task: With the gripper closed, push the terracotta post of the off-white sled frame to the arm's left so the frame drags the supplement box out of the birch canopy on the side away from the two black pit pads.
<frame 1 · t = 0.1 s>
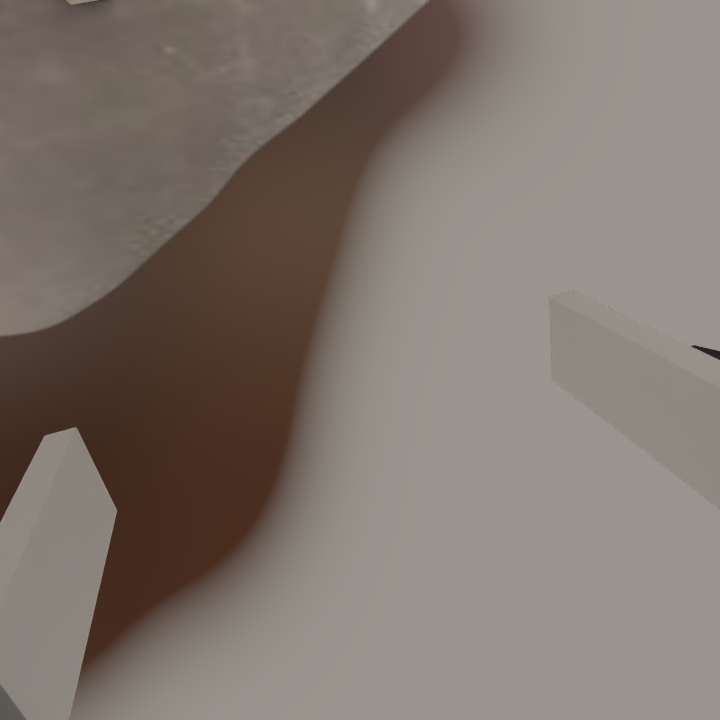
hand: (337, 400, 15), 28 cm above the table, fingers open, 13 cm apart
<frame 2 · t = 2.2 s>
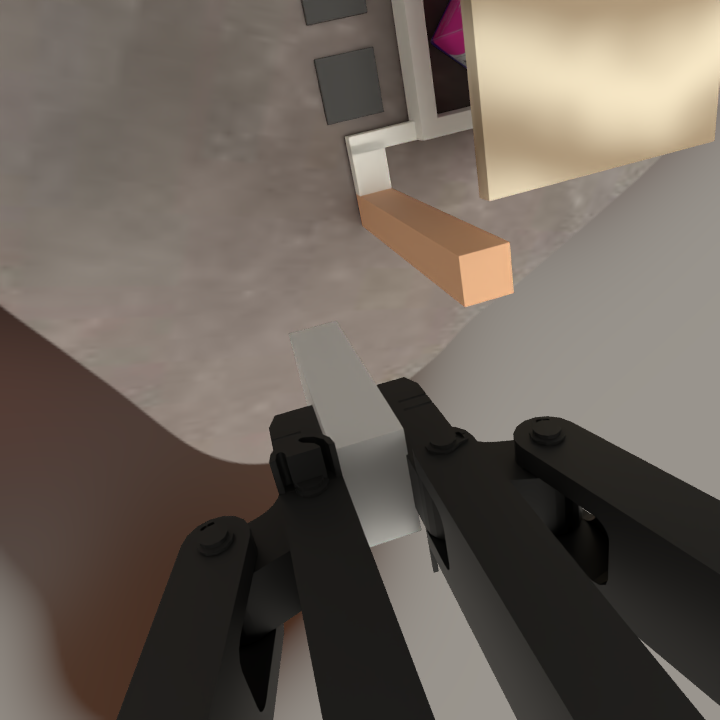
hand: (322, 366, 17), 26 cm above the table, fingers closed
sled: (521, 63, 31), point 10 cm above the table, slide at 0.0 cm
canopy: (481, 22, 38), on the table
supplement box: (480, 23, 38), resting in sled
pit b: (349, 86, 38), on the table
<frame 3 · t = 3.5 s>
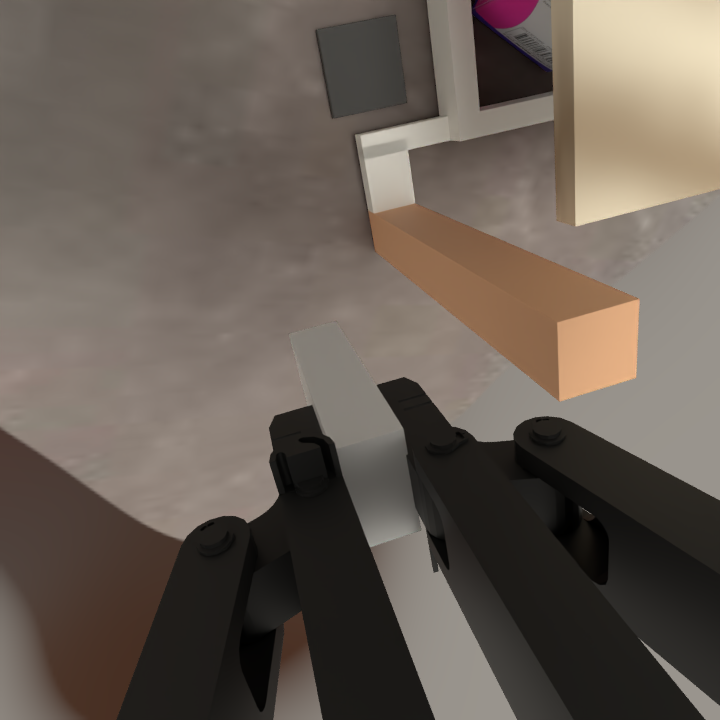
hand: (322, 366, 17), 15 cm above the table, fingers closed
sled: (617, 28, 21), point 10 cm above the table, slide at 0.0 cm
pit b: (362, 68, 28), on the table
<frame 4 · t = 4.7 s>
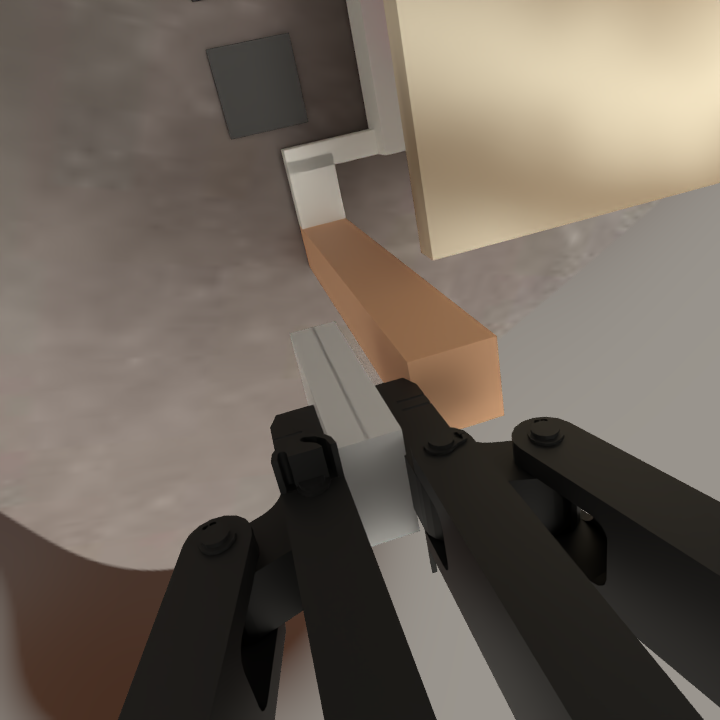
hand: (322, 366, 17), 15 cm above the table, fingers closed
sled: (519, 43, 20), point 10 cm above the table, slide at 1.3 cm, touching gripper, supplement box
canopy: (441, 2, 28), on the table
pit b: (258, 87, 28), on the table
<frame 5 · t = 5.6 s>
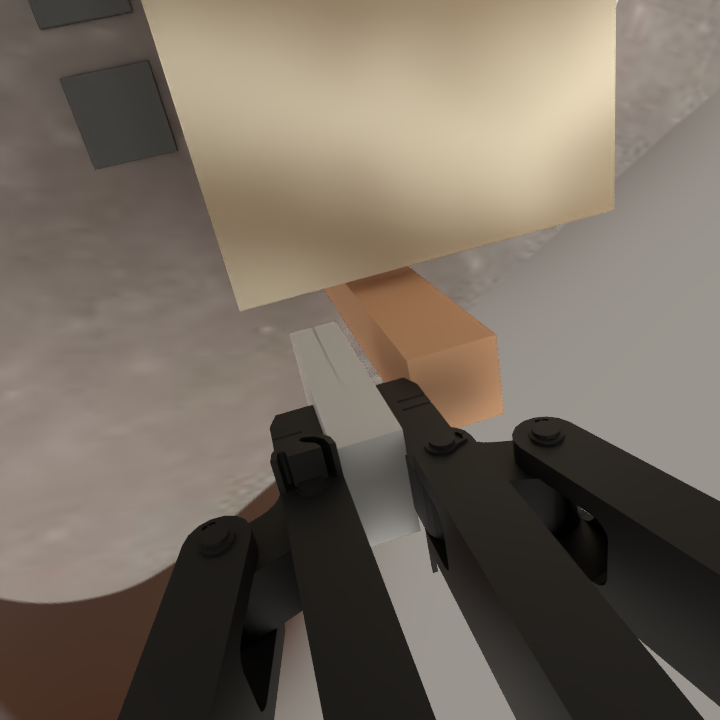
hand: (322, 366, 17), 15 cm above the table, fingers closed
sled: (518, 42, 20), point 10 cm above the table, slide at 8.0 cm, touching gripper, supplement box
canopy: (312, 27, 27), on the table
pit b: (121, 116, 27), on the table
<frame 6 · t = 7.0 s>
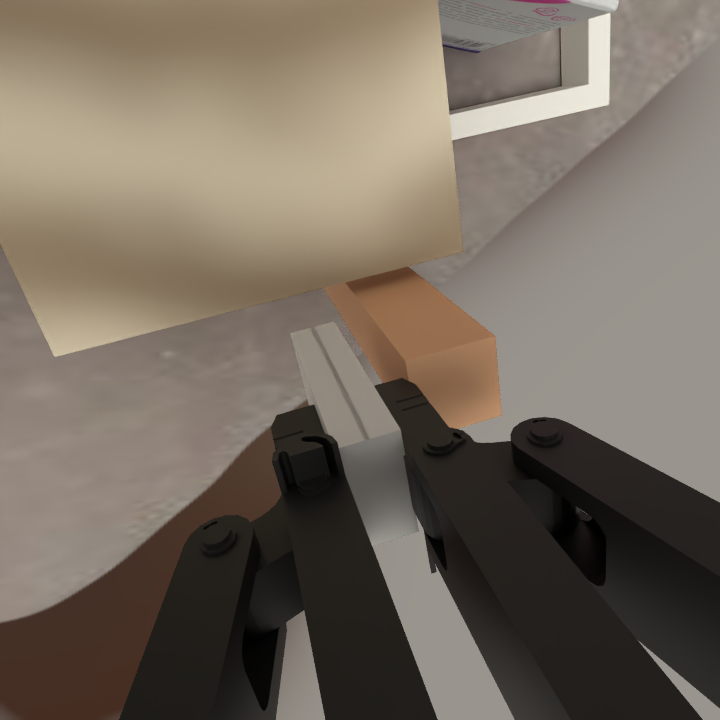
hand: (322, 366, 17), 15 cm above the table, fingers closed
sled: (521, 44, 20), point 10 cm above the table, slide at 13.8 cm, touching canopy, gripper
canopy: (198, 49, 26), on the table
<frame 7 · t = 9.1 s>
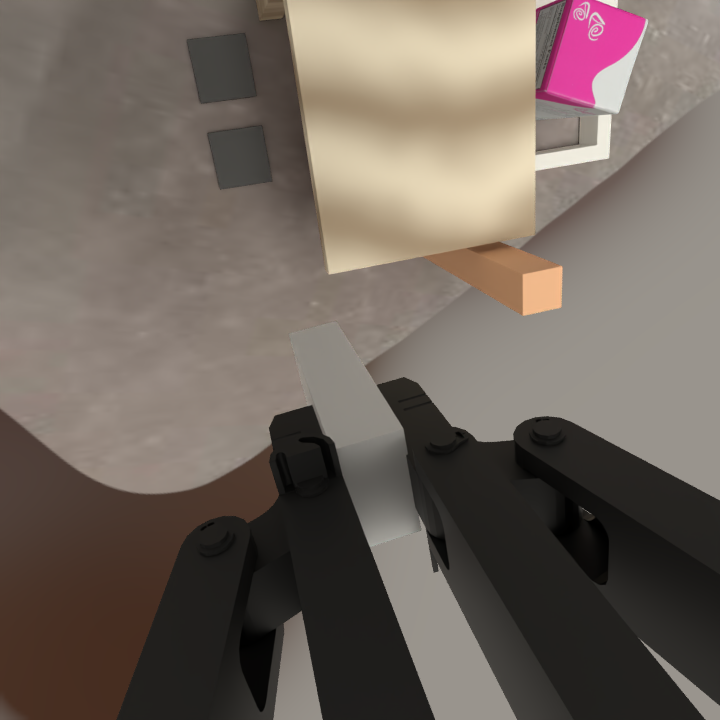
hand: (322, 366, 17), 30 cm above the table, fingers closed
pit a: (222, 69, 40), on the table
sled: (566, 126, 37), point 10 cm above the table, slide at 13.8 cm, touching canopy
canopy: (363, 111, 43), on the table
supplement box: (508, 75, 45), resting in sled
pit b: (240, 157, 42), on the table
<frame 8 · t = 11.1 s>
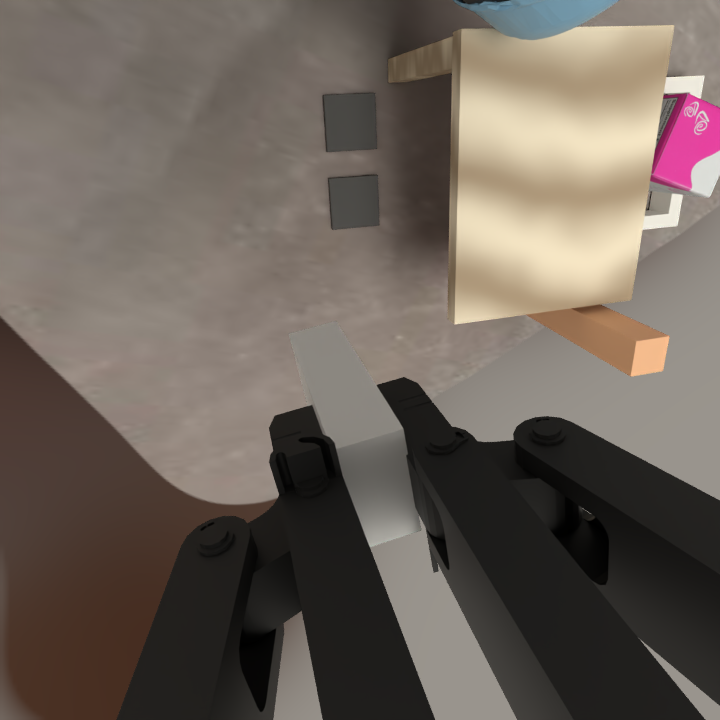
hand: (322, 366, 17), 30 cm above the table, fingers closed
pit a: (349, 122, 43), on the table
sled: (660, 203, 42), point 10 cm above the table, slide at 13.8 cm, touching canopy
canopy: (467, 168, 47), on the table
supplement box: (595, 144, 49), resting in sled
pit b: (353, 202, 46), on the table
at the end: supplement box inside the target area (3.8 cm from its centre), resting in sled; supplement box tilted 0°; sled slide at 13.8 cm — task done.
